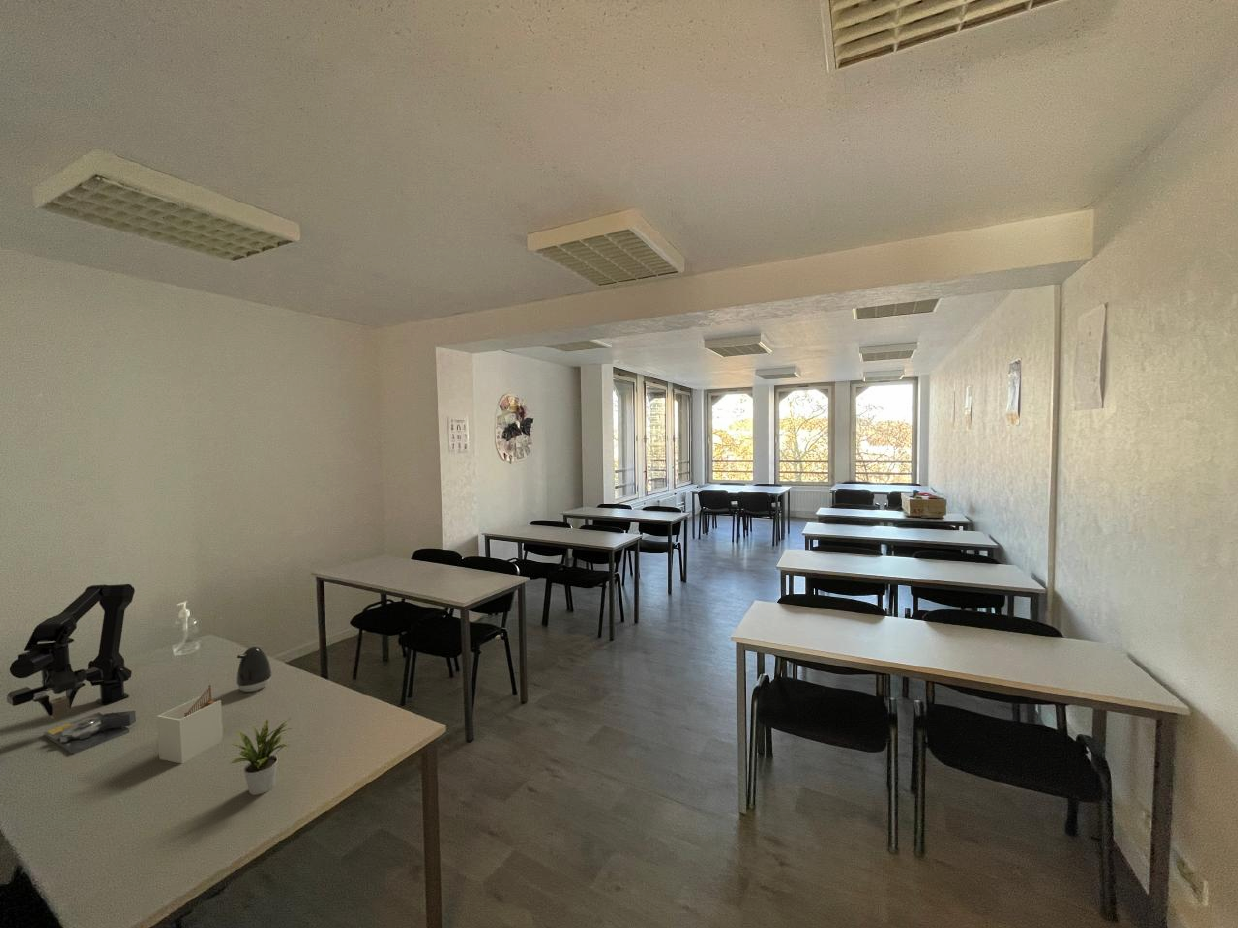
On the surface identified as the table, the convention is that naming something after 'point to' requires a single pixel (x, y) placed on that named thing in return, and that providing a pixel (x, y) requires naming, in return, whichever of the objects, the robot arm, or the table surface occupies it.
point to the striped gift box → (59, 707)
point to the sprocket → (95, 725)
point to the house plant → (260, 759)
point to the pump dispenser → (253, 670)
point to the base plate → (86, 743)
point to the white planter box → (189, 729)
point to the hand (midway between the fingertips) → (59, 712)
